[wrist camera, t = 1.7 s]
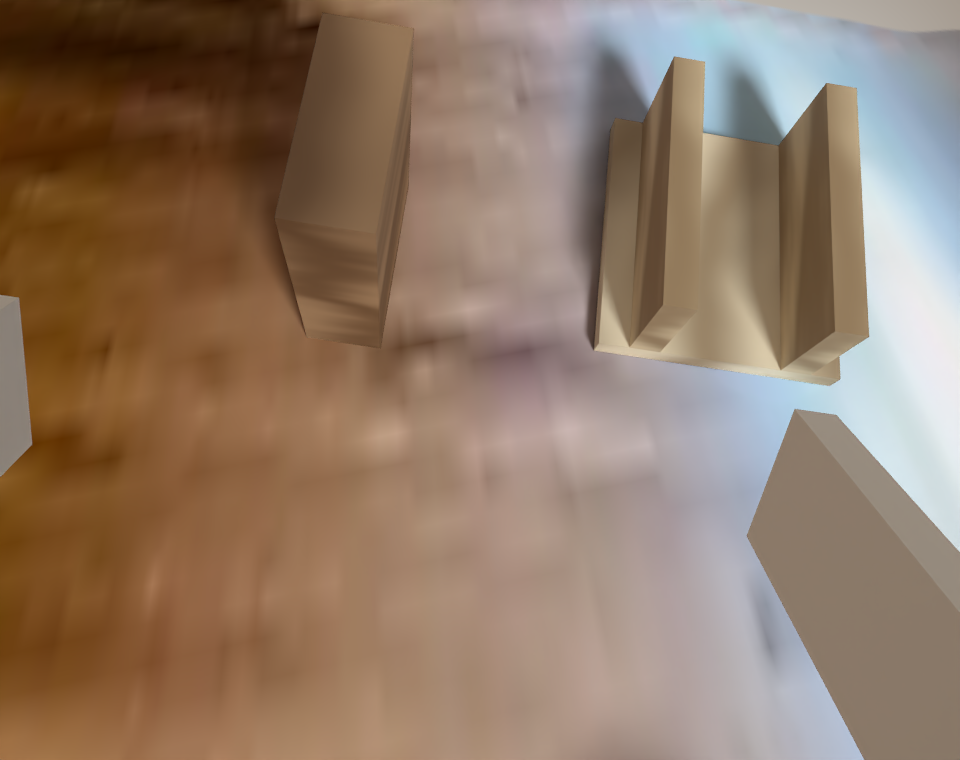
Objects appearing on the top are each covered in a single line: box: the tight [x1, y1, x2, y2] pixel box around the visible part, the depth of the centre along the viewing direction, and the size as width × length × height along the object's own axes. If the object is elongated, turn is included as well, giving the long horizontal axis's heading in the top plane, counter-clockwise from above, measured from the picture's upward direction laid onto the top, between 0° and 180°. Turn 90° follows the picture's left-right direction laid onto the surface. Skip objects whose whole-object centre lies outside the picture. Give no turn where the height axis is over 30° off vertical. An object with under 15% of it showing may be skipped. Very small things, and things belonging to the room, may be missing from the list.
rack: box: [594, 57, 869, 386], centre depth 38 cm, size 12×13×6 cm
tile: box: [274, 13, 414, 348], centre depth 34 cm, size 4×9×11 cm, turn 173°
